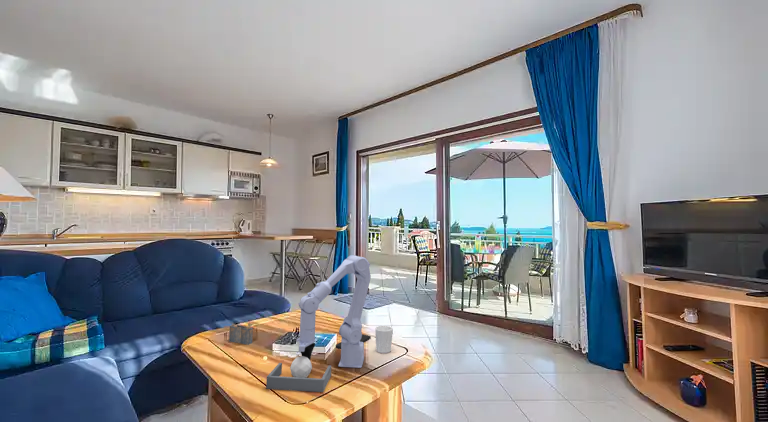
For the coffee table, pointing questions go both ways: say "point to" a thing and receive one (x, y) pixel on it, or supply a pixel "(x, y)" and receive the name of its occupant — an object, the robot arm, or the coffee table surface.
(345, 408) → the coffee table surface
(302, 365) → the geometric ball
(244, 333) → the ruin model on sheet
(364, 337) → the smart home device
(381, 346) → the white cup
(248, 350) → the coffee table surface
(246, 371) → the coffee table surface
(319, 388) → the box
